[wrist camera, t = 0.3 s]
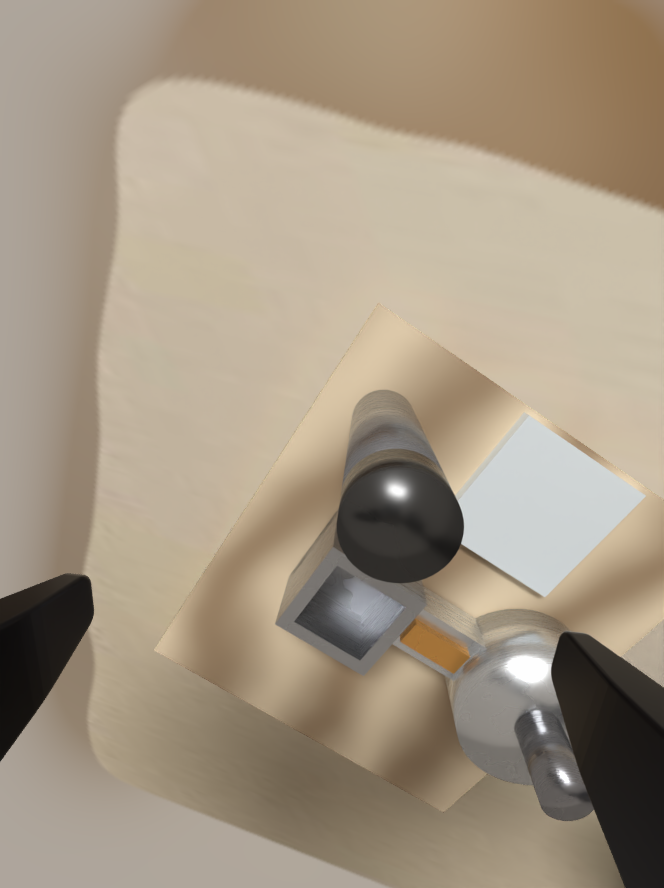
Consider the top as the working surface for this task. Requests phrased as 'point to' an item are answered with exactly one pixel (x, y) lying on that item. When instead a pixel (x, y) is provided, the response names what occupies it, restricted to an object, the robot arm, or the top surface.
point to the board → (460, 582)
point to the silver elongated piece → (449, 665)
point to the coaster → (540, 505)
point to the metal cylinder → (395, 495)
